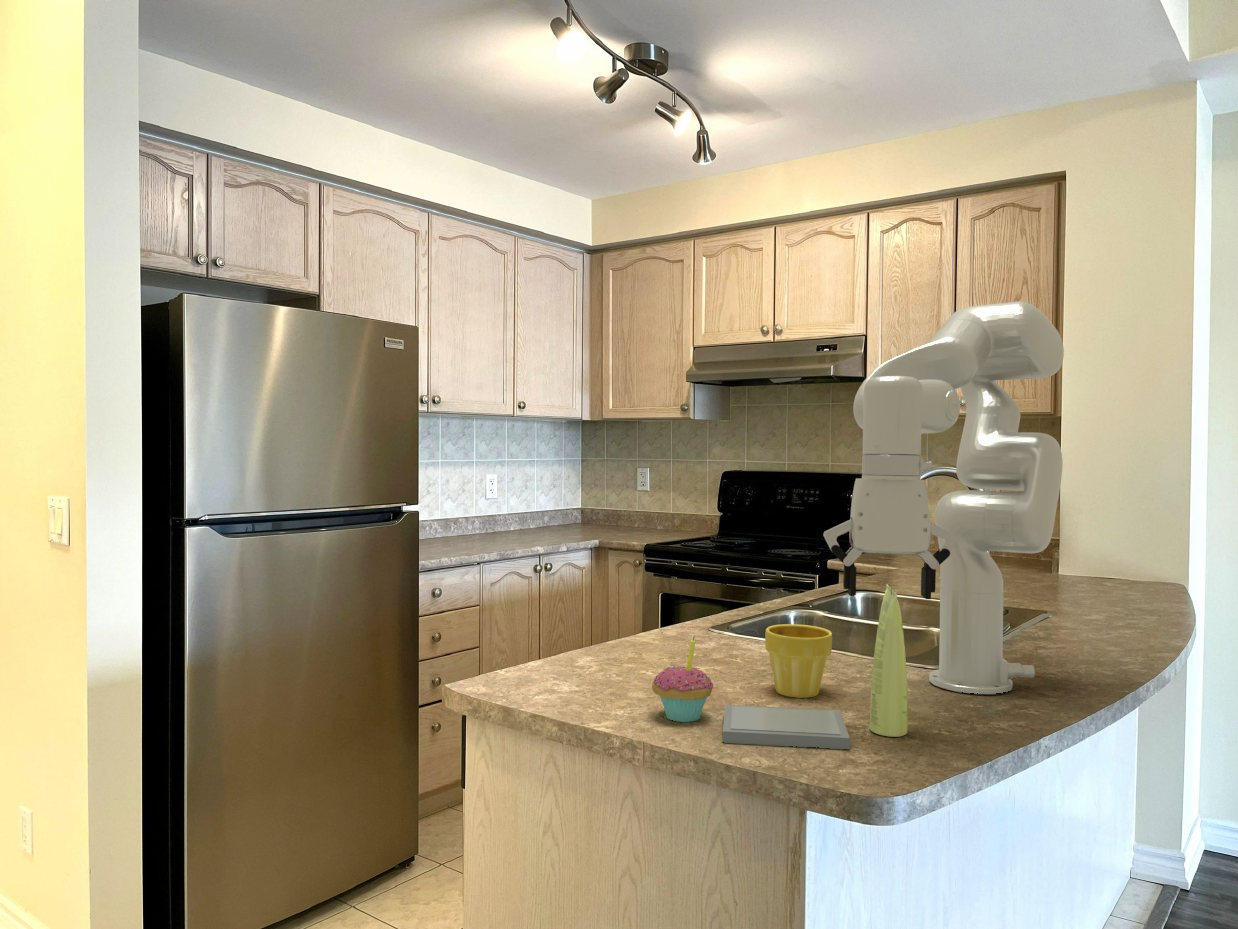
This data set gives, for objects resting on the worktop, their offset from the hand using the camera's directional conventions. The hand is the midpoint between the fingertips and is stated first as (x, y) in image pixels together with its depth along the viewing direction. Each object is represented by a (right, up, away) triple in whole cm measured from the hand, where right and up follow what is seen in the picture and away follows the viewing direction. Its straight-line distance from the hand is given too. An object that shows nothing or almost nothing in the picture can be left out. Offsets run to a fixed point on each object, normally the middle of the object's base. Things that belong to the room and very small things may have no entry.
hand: (888, 596), depth 117 cm
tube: (0, -19, +1) cm, 19 cm away
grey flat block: (-14, -18, +1) cm, 23 cm away
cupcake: (-27, -18, +7) cm, 33 cm away
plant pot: (-8, -18, +20) cm, 28 cm away
